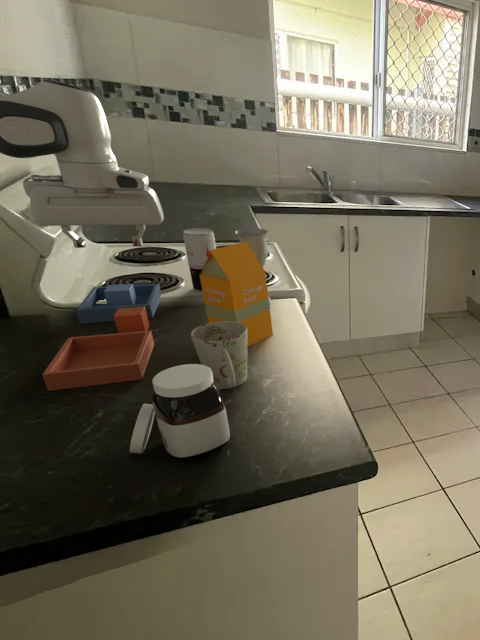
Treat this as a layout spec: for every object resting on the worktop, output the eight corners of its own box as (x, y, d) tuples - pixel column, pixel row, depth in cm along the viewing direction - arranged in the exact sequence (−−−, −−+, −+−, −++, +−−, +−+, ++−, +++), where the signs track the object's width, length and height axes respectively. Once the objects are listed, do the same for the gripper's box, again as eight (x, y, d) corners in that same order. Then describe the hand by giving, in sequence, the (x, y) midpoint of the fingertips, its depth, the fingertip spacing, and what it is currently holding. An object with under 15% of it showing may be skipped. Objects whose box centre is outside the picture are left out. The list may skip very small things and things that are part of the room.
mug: (247, 365, 91) (240, 317, 86) (266, 395, 82) (259, 344, 78) (197, 376, 86) (186, 326, 81) (211, 409, 77) (200, 355, 73)
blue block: (109, 310, 105) (103, 291, 103) (113, 303, 109) (108, 284, 107) (134, 308, 107) (129, 290, 105) (137, 301, 111) (132, 283, 109)
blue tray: (80, 323, 100) (75, 310, 98) (96, 299, 111) (93, 287, 110) (153, 318, 105) (149, 305, 104) (161, 295, 117) (159, 283, 116)
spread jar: (240, 450, 69) (228, 381, 64) (147, 487, 61) (125, 411, 56) (209, 414, 76) (196, 349, 71) (122, 443, 68) (101, 372, 63)
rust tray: (48, 391, 77) (42, 374, 76) (73, 352, 89) (68, 337, 88) (142, 379, 83) (138, 363, 82) (154, 344, 95) (151, 330, 93)
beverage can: (219, 282, 128) (210, 227, 122) (225, 290, 124) (216, 233, 118) (191, 286, 124) (180, 229, 118) (196, 293, 120) (184, 235, 114)
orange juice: (211, 341, 98) (193, 246, 89) (245, 327, 105) (232, 238, 97) (241, 350, 96) (226, 254, 87) (274, 334, 103) (262, 244, 95)
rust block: (119, 336, 96) (113, 316, 94) (123, 328, 100) (118, 308, 98) (146, 334, 98) (141, 314, 96) (149, 325, 102) (144, 306, 100)
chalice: (247, 298, 120) (237, 227, 113) (277, 297, 122) (269, 228, 115) (244, 309, 114) (233, 235, 106) (275, 308, 116) (266, 235, 109)
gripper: (13, 176, 85) (38, 252, 90) (152, 180, 94) (167, 248, 100) (25, 172, 90) (48, 243, 95) (156, 176, 99) (170, 241, 105)
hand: (110, 246), depth 98 cm, fingers open, 8 cm apart
